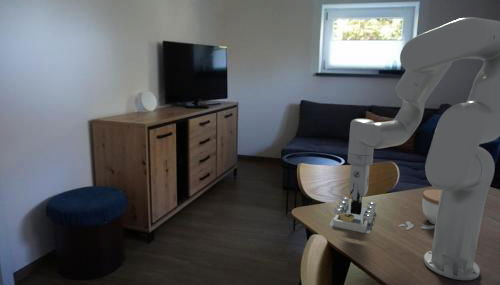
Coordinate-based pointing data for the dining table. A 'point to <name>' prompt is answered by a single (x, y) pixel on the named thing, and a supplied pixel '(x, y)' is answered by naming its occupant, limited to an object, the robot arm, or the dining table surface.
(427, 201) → the lidded bowl
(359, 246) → the dining table surface
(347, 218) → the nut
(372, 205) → the spacers
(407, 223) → the pliers
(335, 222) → the board
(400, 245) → the dining table surface
